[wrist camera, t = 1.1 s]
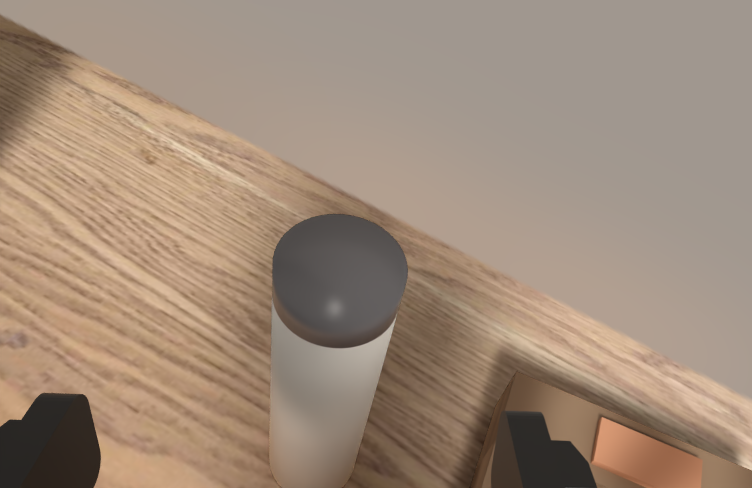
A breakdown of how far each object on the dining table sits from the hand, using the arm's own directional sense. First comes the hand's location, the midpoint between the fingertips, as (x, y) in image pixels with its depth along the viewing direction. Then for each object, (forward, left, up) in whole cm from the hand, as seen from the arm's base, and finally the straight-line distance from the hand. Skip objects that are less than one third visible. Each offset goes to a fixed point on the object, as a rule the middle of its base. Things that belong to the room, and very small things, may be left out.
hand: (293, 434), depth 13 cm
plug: (-2, +8, -20) cm, 22 cm away
